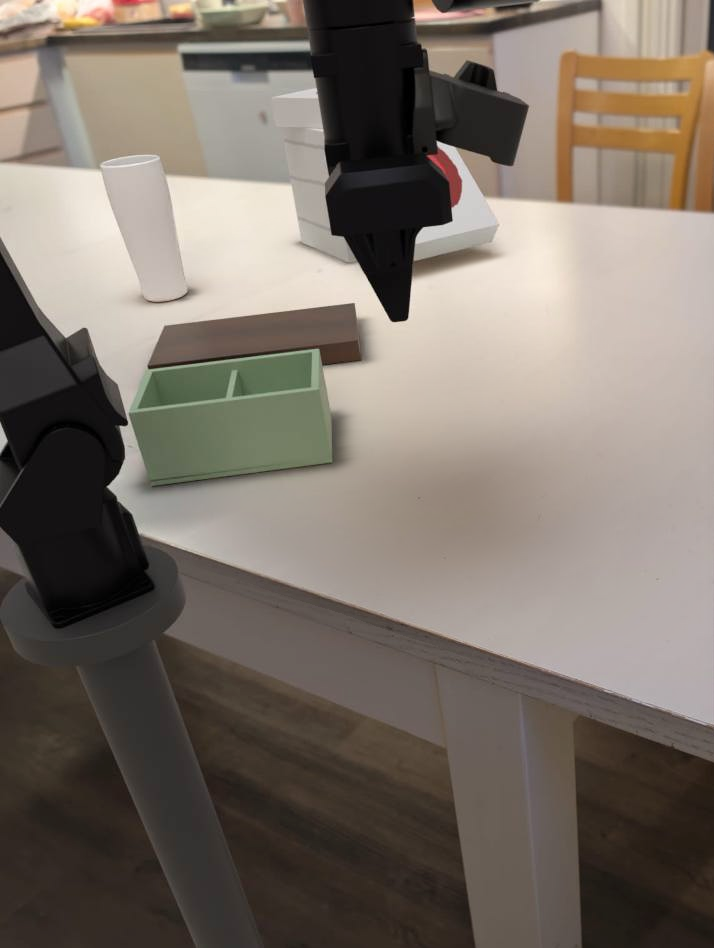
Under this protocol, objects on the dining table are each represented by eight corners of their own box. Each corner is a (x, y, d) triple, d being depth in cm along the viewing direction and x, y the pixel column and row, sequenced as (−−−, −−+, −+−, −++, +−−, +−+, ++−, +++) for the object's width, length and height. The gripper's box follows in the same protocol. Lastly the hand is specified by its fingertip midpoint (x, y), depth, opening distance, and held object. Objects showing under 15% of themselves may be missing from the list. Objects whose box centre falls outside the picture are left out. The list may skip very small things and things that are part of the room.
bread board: (361, 360, 91) (358, 339, 89) (153, 386, 89) (146, 365, 88) (357, 321, 100) (354, 302, 99) (169, 344, 99) (164, 325, 98)
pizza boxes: (383, 287, 110) (360, 113, 99) (283, 242, 131) (254, 94, 120) (517, 252, 117) (509, 87, 107) (402, 215, 138) (385, 74, 127)
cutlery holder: (332, 462, 73) (318, 389, 69) (151, 486, 72) (127, 412, 68) (331, 417, 80) (319, 348, 76) (166, 438, 79) (146, 369, 76)
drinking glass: (171, 285, 117) (135, 153, 109) (206, 291, 114) (172, 155, 105) (126, 301, 113) (86, 165, 104) (162, 308, 110) (123, 167, 101)
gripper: (545, 17, 42) (555, 355, 52) (486, 1, 57) (502, 265, 67) (299, 42, 42) (354, 380, 51) (305, 20, 57) (347, 284, 66)
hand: (399, 320), depth 59 cm, fingers closed
